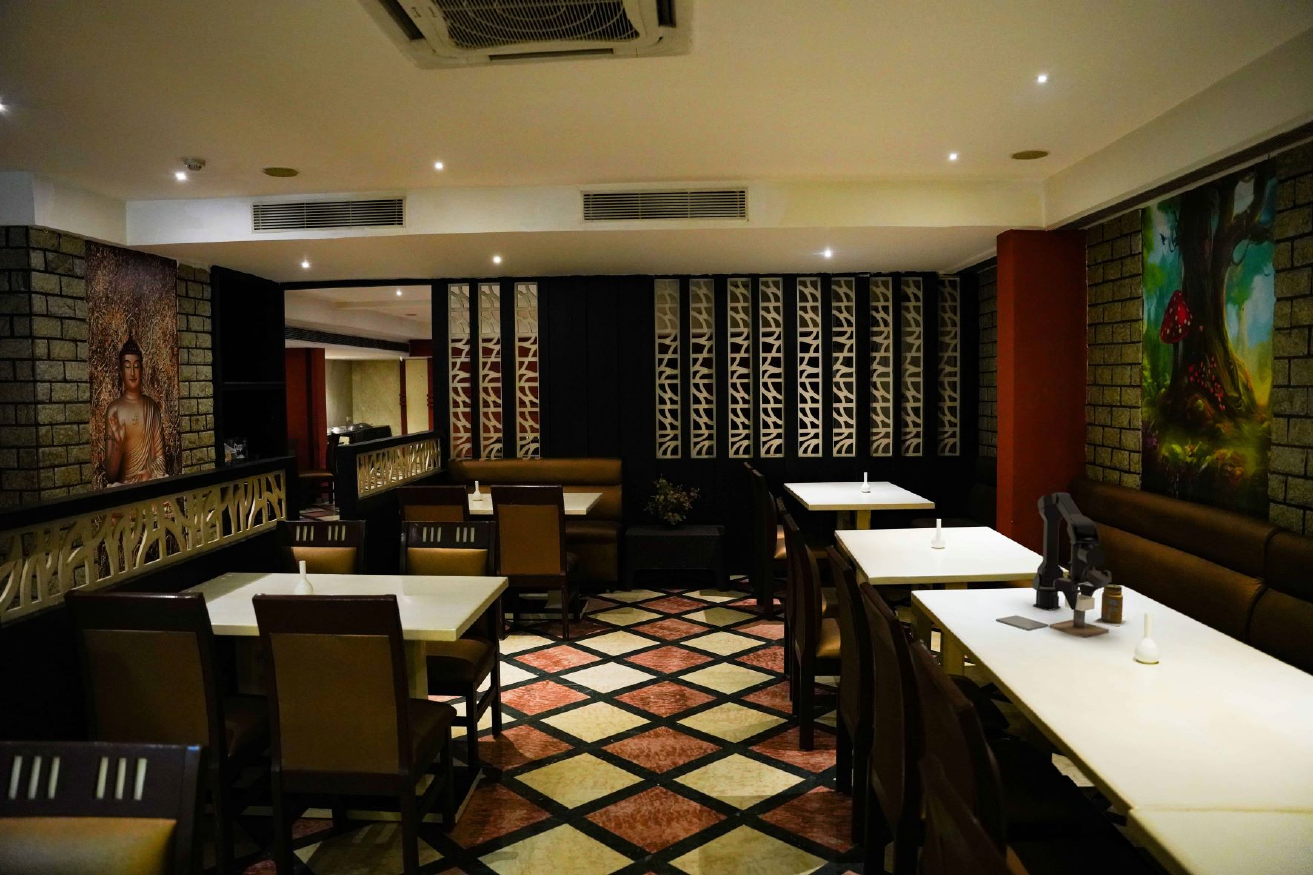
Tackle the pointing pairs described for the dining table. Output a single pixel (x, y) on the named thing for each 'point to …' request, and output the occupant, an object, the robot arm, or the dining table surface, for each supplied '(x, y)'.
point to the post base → (1078, 631)
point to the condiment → (1111, 606)
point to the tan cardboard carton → (1083, 603)
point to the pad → (1022, 622)
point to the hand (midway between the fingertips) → (1079, 608)
